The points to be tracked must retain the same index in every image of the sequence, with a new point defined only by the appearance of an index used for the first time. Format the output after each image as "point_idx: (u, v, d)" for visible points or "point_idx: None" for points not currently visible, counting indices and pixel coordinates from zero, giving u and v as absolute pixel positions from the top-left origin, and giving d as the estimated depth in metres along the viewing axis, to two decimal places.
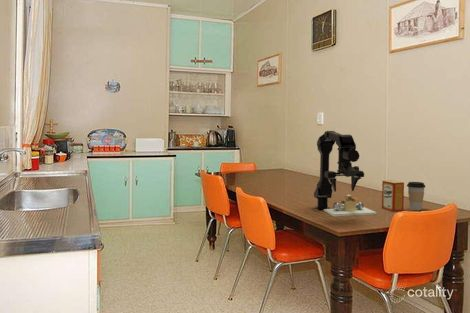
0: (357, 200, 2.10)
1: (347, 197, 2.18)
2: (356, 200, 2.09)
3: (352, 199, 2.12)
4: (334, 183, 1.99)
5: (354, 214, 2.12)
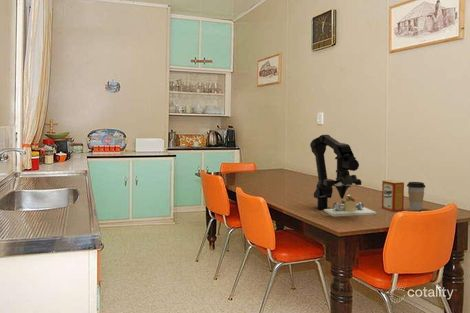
0: (357, 200, 2.10)
1: (347, 197, 2.18)
2: (356, 200, 2.09)
3: (352, 199, 2.12)
4: (341, 190, 2.09)
5: (354, 214, 2.12)
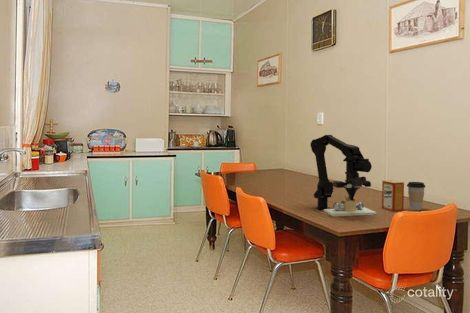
0: (357, 200, 2.10)
1: (347, 197, 2.18)
2: (356, 200, 2.09)
3: None
4: (350, 192, 2.10)
5: (354, 214, 2.12)
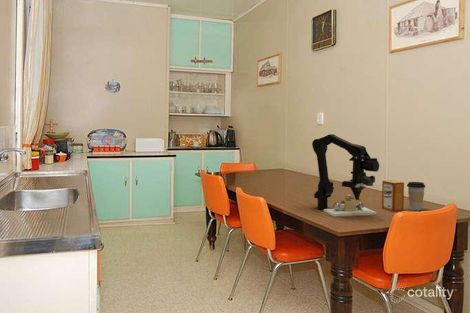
0: (362, 199, 2.11)
1: (348, 197, 2.18)
2: (362, 200, 2.11)
3: None
4: (358, 192, 2.10)
5: (354, 214, 2.12)
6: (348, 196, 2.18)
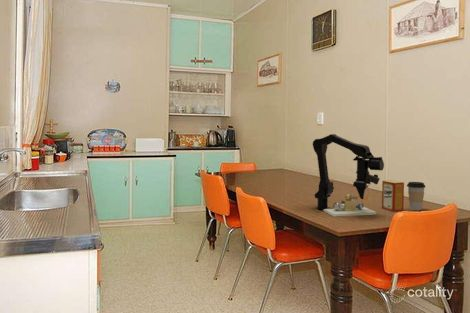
0: None
1: (350, 197, 2.18)
2: (366, 198, 2.14)
3: None
4: (364, 191, 2.12)
5: (354, 214, 2.12)
6: (349, 196, 2.17)
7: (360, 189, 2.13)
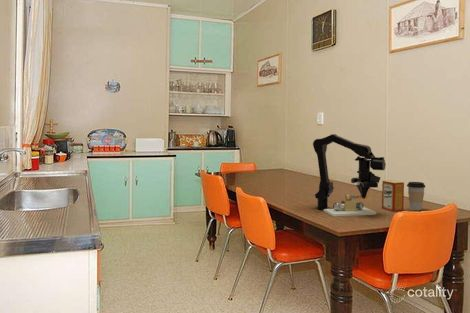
0: None
1: (351, 197, 2.18)
2: None
3: None
4: None
5: (354, 214, 2.12)
6: (351, 196, 2.18)
7: (364, 189, 2.14)
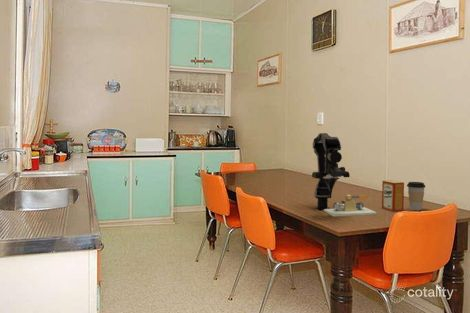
0: None
1: (351, 197, 2.18)
2: None
3: (362, 197, 2.18)
4: (329, 183, 2.09)
5: (354, 214, 2.12)
6: (351, 196, 2.18)
7: (327, 181, 2.11)
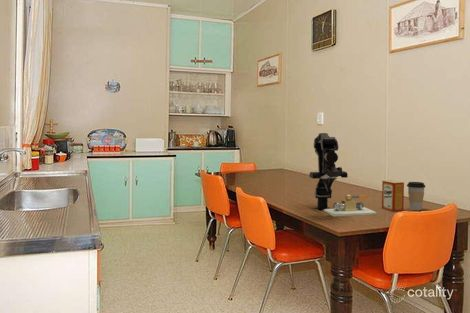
0: None
1: (351, 197, 2.18)
2: None
3: (362, 197, 2.18)
4: (327, 183, 2.09)
5: (354, 214, 2.12)
6: (351, 196, 2.18)
7: (325, 181, 2.11)
